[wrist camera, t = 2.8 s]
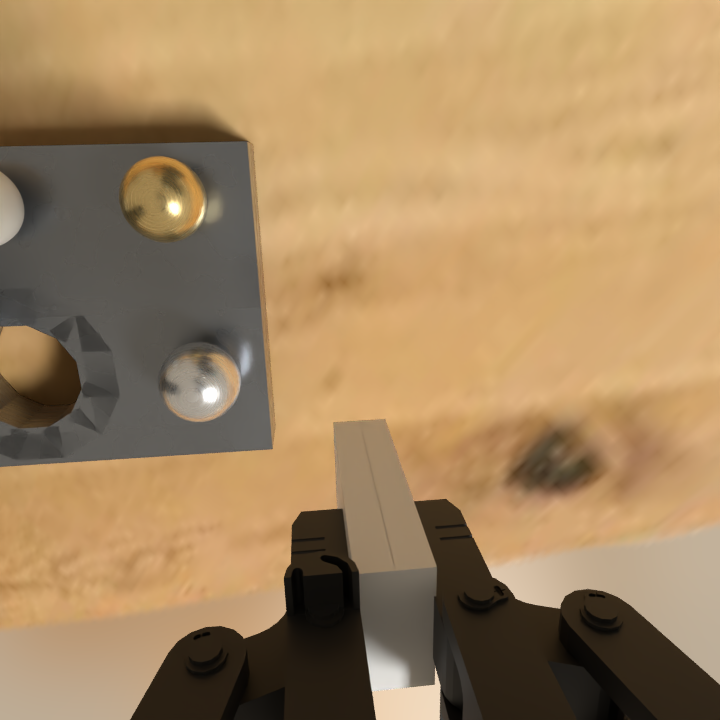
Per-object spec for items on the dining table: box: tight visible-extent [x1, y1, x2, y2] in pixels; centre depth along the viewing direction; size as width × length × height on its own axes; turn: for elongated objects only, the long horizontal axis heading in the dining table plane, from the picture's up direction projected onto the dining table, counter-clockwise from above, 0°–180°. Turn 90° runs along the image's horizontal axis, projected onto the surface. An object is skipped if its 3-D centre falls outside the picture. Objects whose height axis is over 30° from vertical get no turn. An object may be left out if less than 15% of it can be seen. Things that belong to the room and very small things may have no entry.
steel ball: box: [157, 342, 241, 422], centre depth 22 cm, size 3×3×3 cm
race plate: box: [0, 141, 275, 467], centre depth 24 cm, size 13×14×2 cm
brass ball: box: [119, 156, 207, 243], centre depth 20 cm, size 3×3×3 cm
